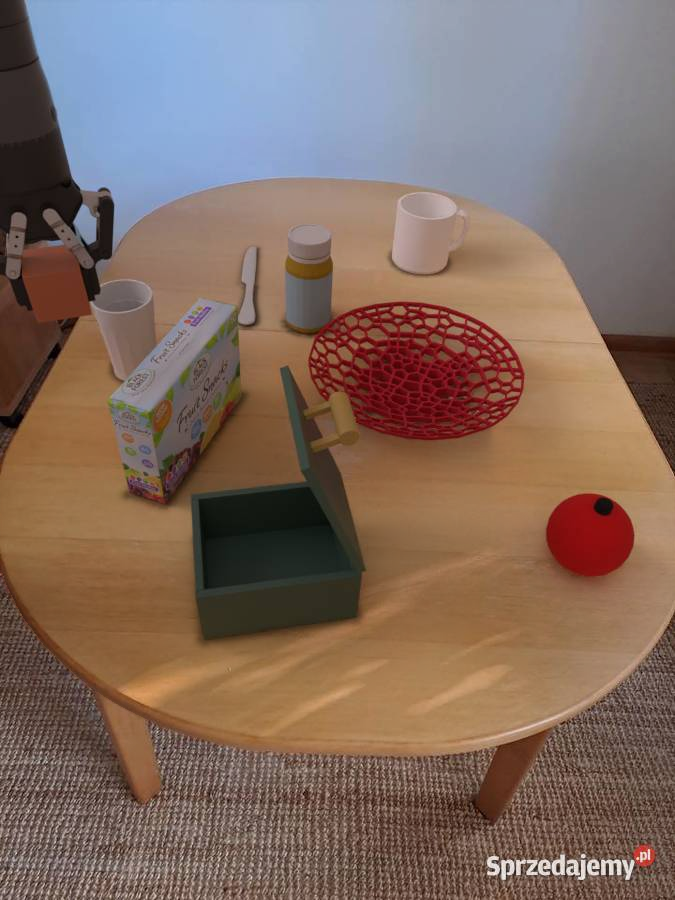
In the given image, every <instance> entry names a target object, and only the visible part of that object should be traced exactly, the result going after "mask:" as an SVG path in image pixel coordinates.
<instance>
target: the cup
mask: <svg viewBox="0 0 675 900" xmlns="http://www.w3.org/2000/svg"><path fill="white" fill-rule="evenodd" d="M100 289H101V291H100V294H99V295H95V299H96V301H90V302H89V303H90V307H91V308H92V309H91V310H92V311H93V314H94V317H95V319H96V321H97V325H98V328H99V330H100V333H101V336H102V339H103V342H104V345H105V348H106V351H107V354H108V357H109V360H110V362H111V364H112V365H111V366H112V368H113V373H114V375H115V377H116V378H118V379H119V380H121V381H123V382H124V381H125V380H126V379H127V378H128V377H129V376H130V375H131V374H132V373H133V371H134V370H135V369H136V368H137V367H138V366H139V365H140V364H141V363H142V362H143V361H144V359H145V358H146V357H147V356H148V355H149V354H150V353H151V352H152V351H153V349H154V348H155V347H156V346H157V345H158V344H157V334H156V333H157V332H156V323H155V304H154V303H155V302H154V291H153V289H152V287H151V286H150V285H148V284H147V283H146V282H143V281H141V280H137V279H128V278H123V279H113V280H111V281H107V282H105V283H102V284H100Z"/></svg>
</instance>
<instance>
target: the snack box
mask: <svg viewBox="0 0 675 900" xmlns="http://www.w3.org/2000/svg"><path fill="white" fill-rule="evenodd" d="M238 309H239V308H238V305H236V304H235V305H234V304H230V303H226V302H222V301H218V300H214V299H210V298H209V299H208V298H205V297H199V299H198V300H197V301H196V302H195V303H194V304H193V305H192V306H191V307H190V308H189V310H188V311H186V313H185V314H184V315H183V316H182V318H181V319H180V320H178V321H177V322H176V324H175V325H174V326H173V327H172V329H170V330H169V332H168V333H167V334H166V335H165V336H164V337H163V338H162V340H161V341H160V342H159V343H158V344H157V346H156V347H155V348H154V349H153V351H152V352H151V353H150V354H149V355H148V356H147V357H146V358H145V359H144V361H143V362H142V363H141V364H140V365H139V366H138V367H137V368H136V369H135V370H134V371H133V373H132V374H131V375H130V376H129V377H128V378H127V379H126V380H125V381H123V382H122V383H121V384H120V386H119V387H117V389H116V390H115V391H114V392H113V393H112V395H110V396H109V397H108V399H107V404H108V408H109V413H110V417H111V421H112V426H113V430H114V434H115V437H116V442H117V446H118V451H119V455H120V459H121V463H122V468H123V472H124V475H125V479H126V484H127V485H126V486H127V489H128V492H129V493H130V494H134V495H137V496H140V497H143V498H146V499H149V500H152V501H155V502H158V503H160V504H163V505H166V504H167V503H168V502H169V501H170V499H171V498H172V496H173V495H174V493H175V492H176V491H177V489H178V488H179V486H180V485H181V483H182V482H183V480H184V479H185V478H186V476H187V475H188V473H189V472H190V471H191V469H192V468H193V467H194V465H195V463H196V462H197V460H198V459H199V457H200V456H201V454H202V453H203V452H204V450H205V449H206V448H207V447H208V445H209V443H210V442H211V441H212V439H213V438H214V437H215V435H216V434H217V432H218V431H219V430H220V428H221V426H222V425H223V424H224V422H225V421H226V420H227V418H228V417H229V415H230V414H231V412H232V411H233V410H234V409H235V407H236V406H237V404H238V403H239V401H240V400H241V398H242V397H243V394H242V393H243V392H242V377H241V359H240V357H241V356H240V334H239V322H238V316H239V313H238V312H239V310H238Z"/></svg>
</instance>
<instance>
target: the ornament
mask: <svg viewBox="0 0 675 900" xmlns="http://www.w3.org/2000/svg"><path fill="white" fill-rule="evenodd" d="M545 527H546V528H545V538H546V539H545V540H546V544H547V547H548V549H549V551H550V554H551V556H552V557H553V559H554V560H555V561H556V562H557V563H558V564H559V565H560V566H561V567H563V568H564V569H566V570H567V571H569V572H570V573H573V574H575V575H578V576H582V577H587V578H595V577H597V578H598V577H602V576H606V575H609V574H612V573H614V572H615V571H617V570H619V568H622V566H623V565H624V564H625V563H626V562H627V560H628V559H629V558H630V556H631V553H632V551H633V549H634V546H635V536H636V535H635V529H634V525H633V522H632V519H631V518H630V515H628V512H627V511H626V510H625V509H624V508H623V507H622V505H621V504H619V503H618V502H616V501H615V500H613V499H612V498H610V497H608V496H605V495H603V494H599V493H593V492H592V493H590V492H587V493H586V492H585V493H578V494H574V495H572V496H569V497H567V498H565V499H564V500H562V501H561V502H560V503H559V504H557V506H555V507H554V509H553V510H552V512H551V513H550V515H549V517H548V519H547V523H546V526H545Z"/></svg>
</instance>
